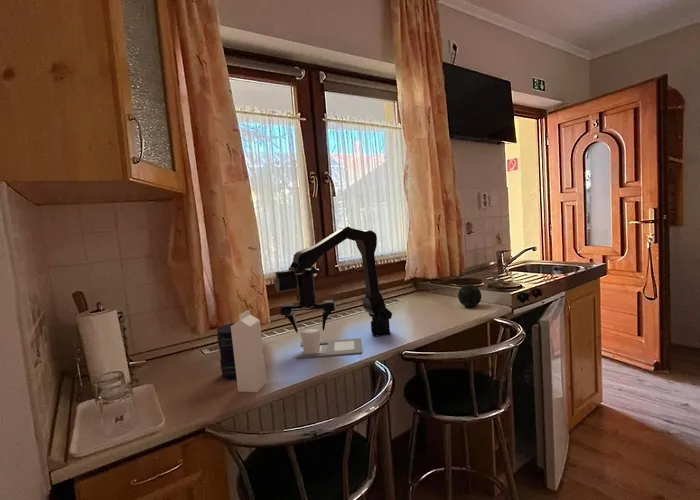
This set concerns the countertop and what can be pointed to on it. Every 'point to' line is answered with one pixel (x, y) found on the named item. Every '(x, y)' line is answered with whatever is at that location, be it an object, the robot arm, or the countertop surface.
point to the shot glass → (310, 340)
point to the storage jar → (226, 352)
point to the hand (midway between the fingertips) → (310, 331)
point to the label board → (336, 348)
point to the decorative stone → (469, 295)
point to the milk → (248, 353)
